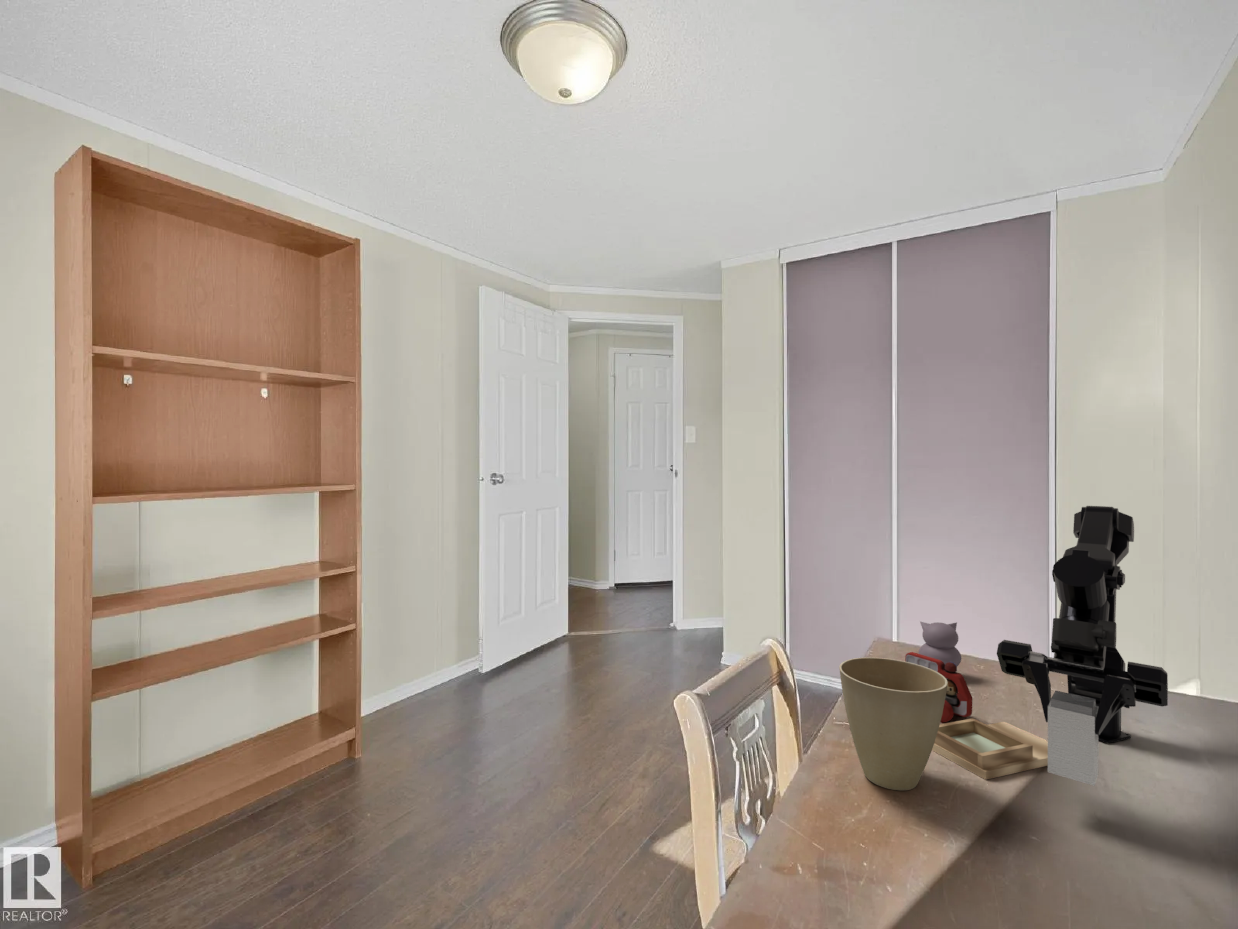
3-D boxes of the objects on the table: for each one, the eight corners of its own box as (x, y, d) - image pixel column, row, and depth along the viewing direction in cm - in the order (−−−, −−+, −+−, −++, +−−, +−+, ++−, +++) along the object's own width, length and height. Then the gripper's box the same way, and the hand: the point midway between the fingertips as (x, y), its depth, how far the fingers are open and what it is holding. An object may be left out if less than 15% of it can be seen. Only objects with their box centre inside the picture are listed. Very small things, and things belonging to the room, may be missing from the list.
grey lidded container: (1053, 760, 84) (1053, 689, 84) (1098, 772, 81) (1098, 699, 81) (1047, 772, 81) (1047, 698, 81) (1094, 786, 78) (1094, 709, 78)
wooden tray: (1003, 728, 107) (1003, 710, 107) (1073, 759, 96) (1073, 739, 96) (921, 744, 101) (921, 725, 101) (985, 779, 90) (985, 758, 90)
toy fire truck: (959, 730, 107) (959, 672, 107) (895, 706, 117) (895, 653, 117) (980, 721, 111) (980, 665, 111) (916, 698, 121) (916, 647, 121)
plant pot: (908, 818, 80) (909, 699, 80) (818, 770, 93) (818, 667, 93) (968, 786, 88) (968, 678, 88) (877, 746, 101) (878, 651, 101)
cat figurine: (925, 681, 131) (925, 626, 131) (913, 669, 138) (913, 617, 138) (967, 684, 129) (967, 628, 129) (953, 671, 137) (953, 619, 137)
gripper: (999, 586, 90) (981, 678, 82) (1167, 606, 77) (1165, 718, 69) (1010, 627, 96) (994, 717, 88) (1168, 653, 83) (1166, 761, 75)
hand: (1071, 727), depth 80 cm, fingers closed on grey lidded container, 5 cm apart
